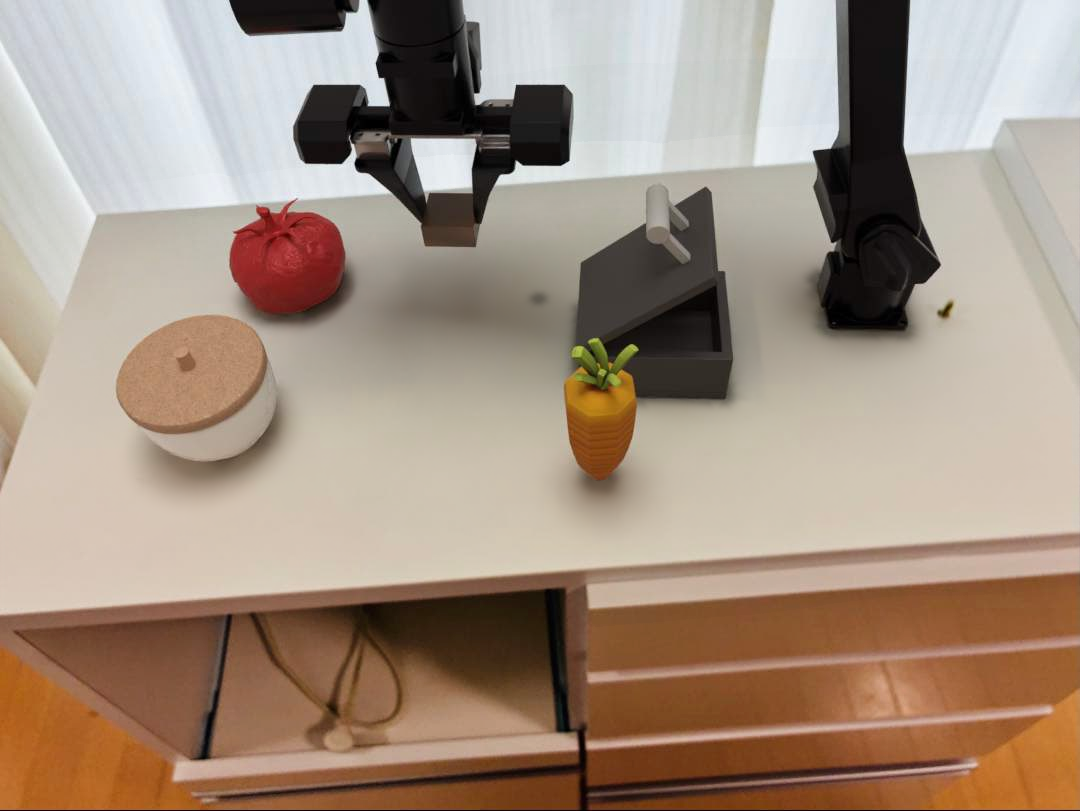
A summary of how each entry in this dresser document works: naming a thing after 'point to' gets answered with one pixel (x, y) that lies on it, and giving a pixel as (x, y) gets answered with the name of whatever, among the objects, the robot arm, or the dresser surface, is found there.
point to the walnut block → (449, 221)
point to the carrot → (600, 409)
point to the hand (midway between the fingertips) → (452, 220)
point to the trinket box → (199, 387)
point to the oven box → (681, 349)
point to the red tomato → (287, 260)
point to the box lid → (649, 267)
